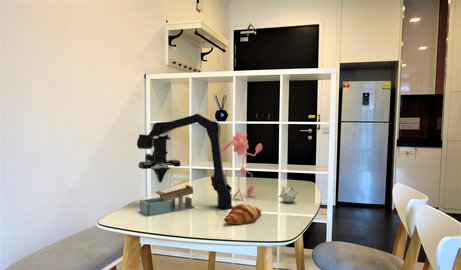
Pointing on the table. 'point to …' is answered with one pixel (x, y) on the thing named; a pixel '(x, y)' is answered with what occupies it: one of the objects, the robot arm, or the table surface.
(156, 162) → the robot arm
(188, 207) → the stand
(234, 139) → the figurine
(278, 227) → the table surface
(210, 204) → the table surface
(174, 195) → the lever
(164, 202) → the bin
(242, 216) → the croissant
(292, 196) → the grey spiked polyhedron
